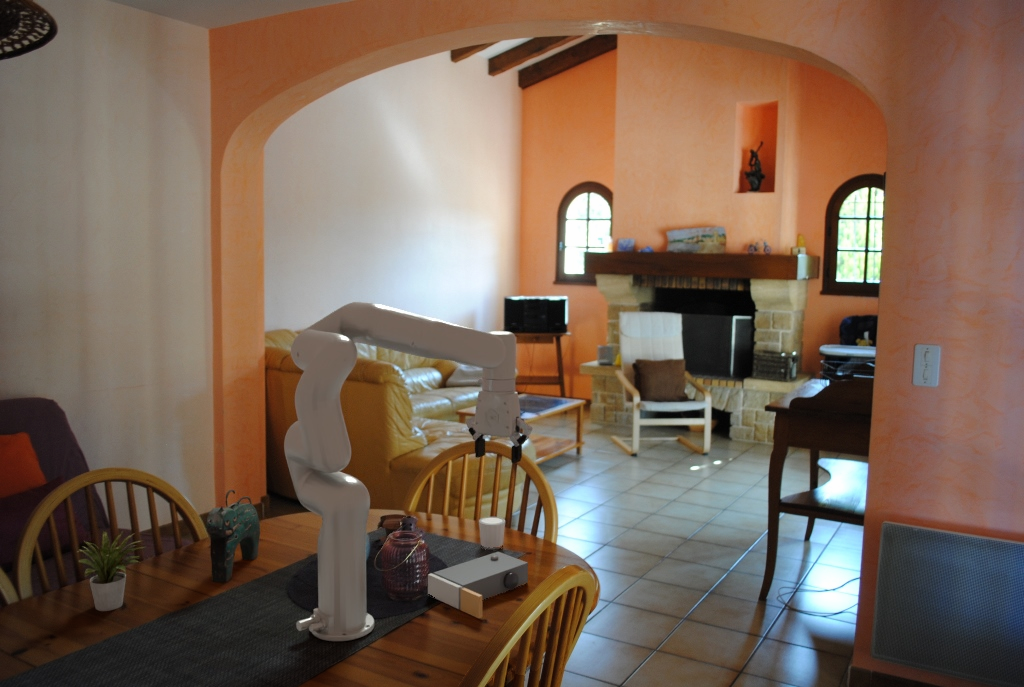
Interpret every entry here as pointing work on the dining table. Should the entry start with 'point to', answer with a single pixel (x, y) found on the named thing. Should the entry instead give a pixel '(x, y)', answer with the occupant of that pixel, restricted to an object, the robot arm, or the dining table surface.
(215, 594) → the dining table surface
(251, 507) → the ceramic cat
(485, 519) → the white cup
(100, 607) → the house plant
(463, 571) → the box
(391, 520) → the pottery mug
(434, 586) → the side door
